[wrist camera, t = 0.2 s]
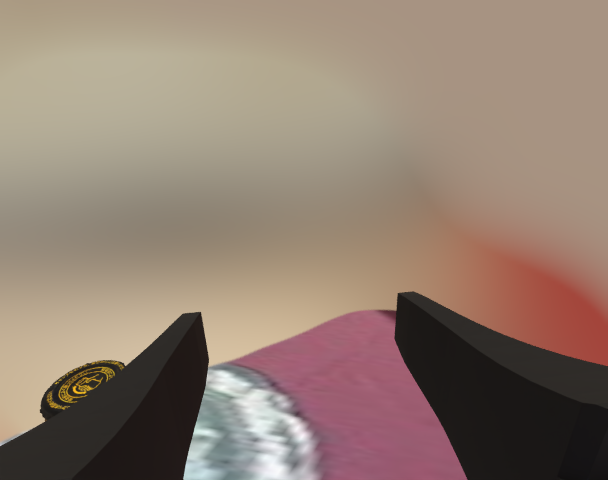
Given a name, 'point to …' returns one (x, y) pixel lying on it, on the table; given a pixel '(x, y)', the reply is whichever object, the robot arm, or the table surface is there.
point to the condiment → (77, 386)
